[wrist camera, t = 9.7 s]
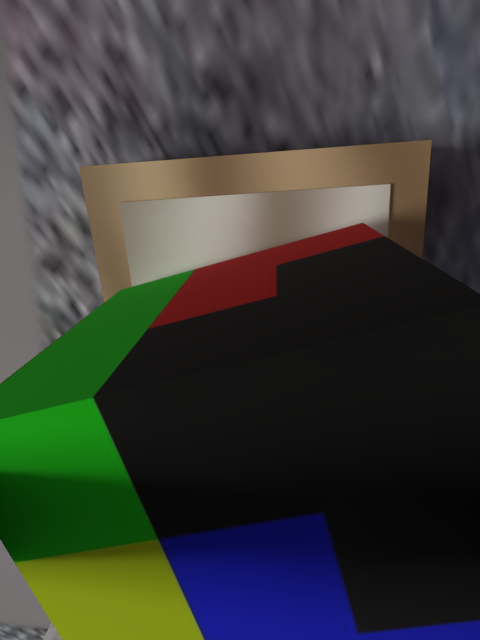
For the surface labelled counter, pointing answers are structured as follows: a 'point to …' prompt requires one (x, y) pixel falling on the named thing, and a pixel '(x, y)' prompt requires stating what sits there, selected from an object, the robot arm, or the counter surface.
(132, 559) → the puzzle toy
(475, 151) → the counter surface
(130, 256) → the oak picture frame
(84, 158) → the counter surface
